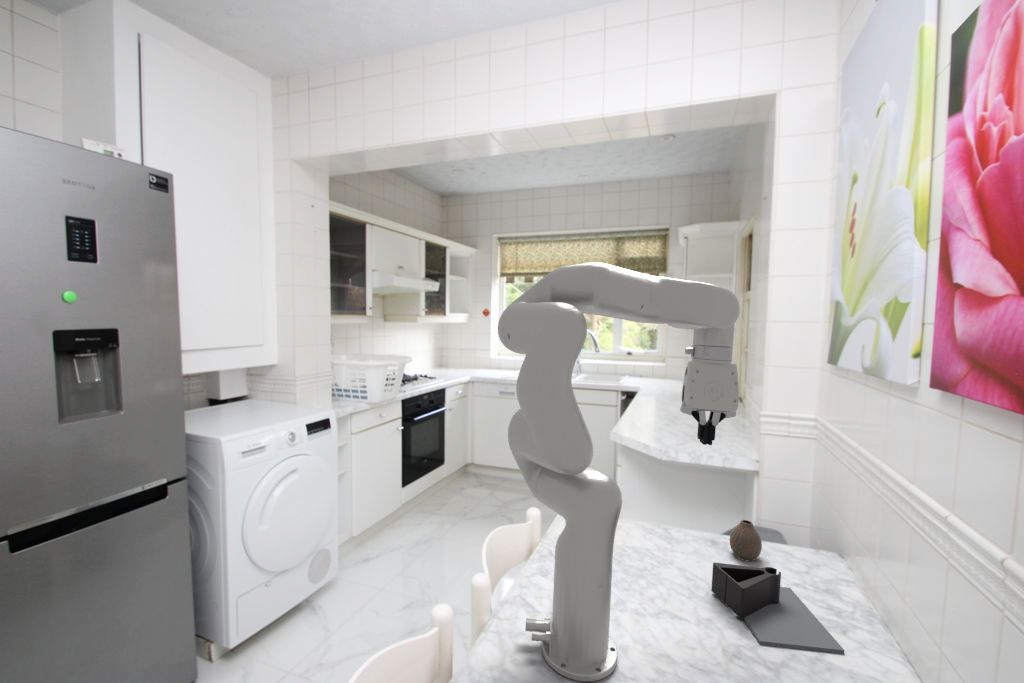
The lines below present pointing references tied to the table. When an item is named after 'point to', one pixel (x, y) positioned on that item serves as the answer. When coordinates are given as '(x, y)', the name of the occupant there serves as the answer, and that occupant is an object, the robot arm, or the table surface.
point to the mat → (790, 625)
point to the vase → (745, 541)
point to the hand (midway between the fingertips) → (705, 443)
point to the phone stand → (745, 587)
